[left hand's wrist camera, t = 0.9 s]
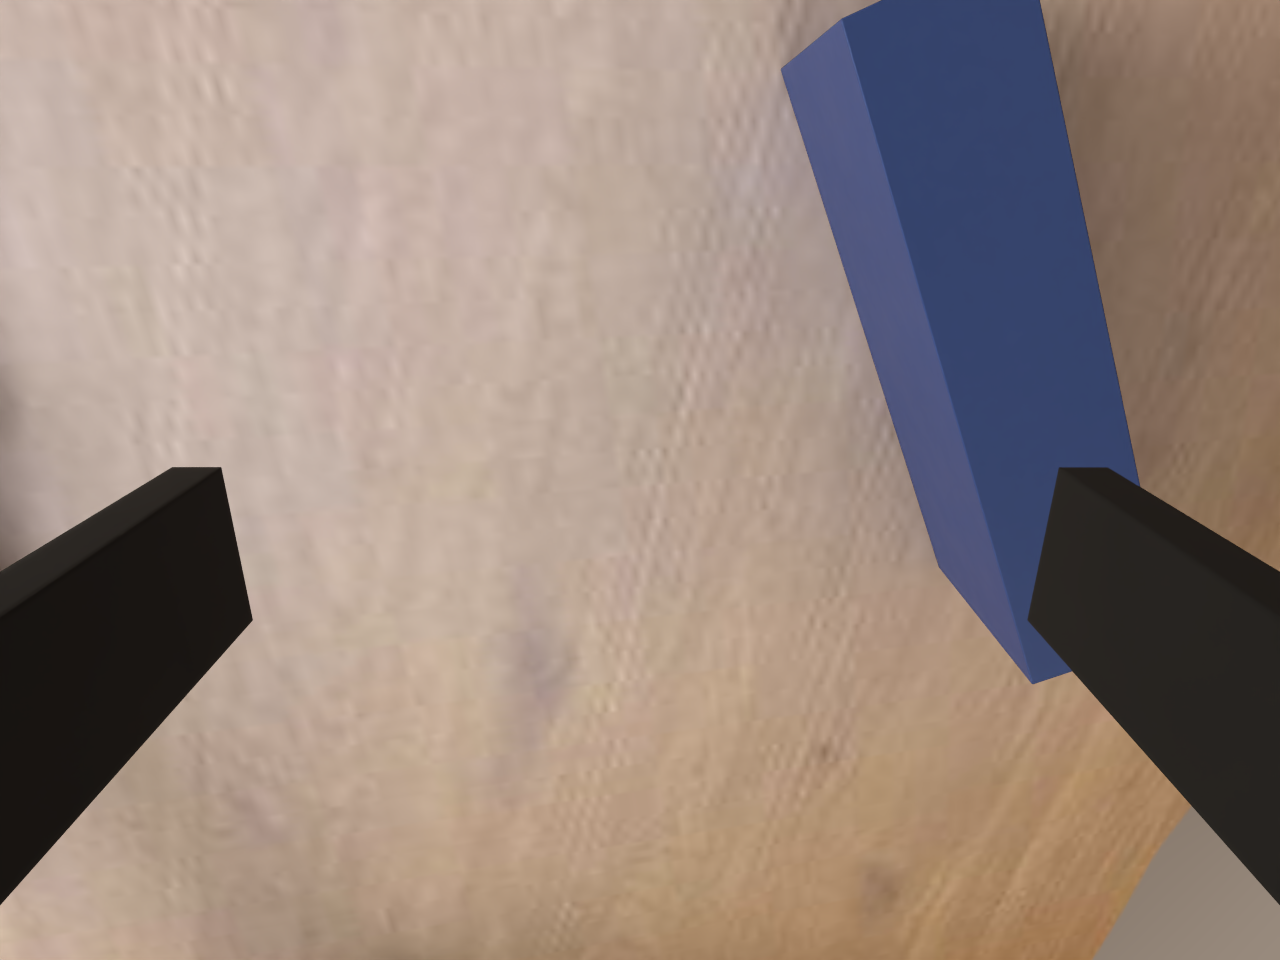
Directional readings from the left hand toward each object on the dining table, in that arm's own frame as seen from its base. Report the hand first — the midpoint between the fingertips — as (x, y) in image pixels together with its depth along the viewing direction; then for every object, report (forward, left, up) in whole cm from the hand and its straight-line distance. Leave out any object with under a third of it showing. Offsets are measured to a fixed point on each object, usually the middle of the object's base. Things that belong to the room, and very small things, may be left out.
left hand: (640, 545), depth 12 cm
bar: (+5, -11, -22) cm, 25 cm away
